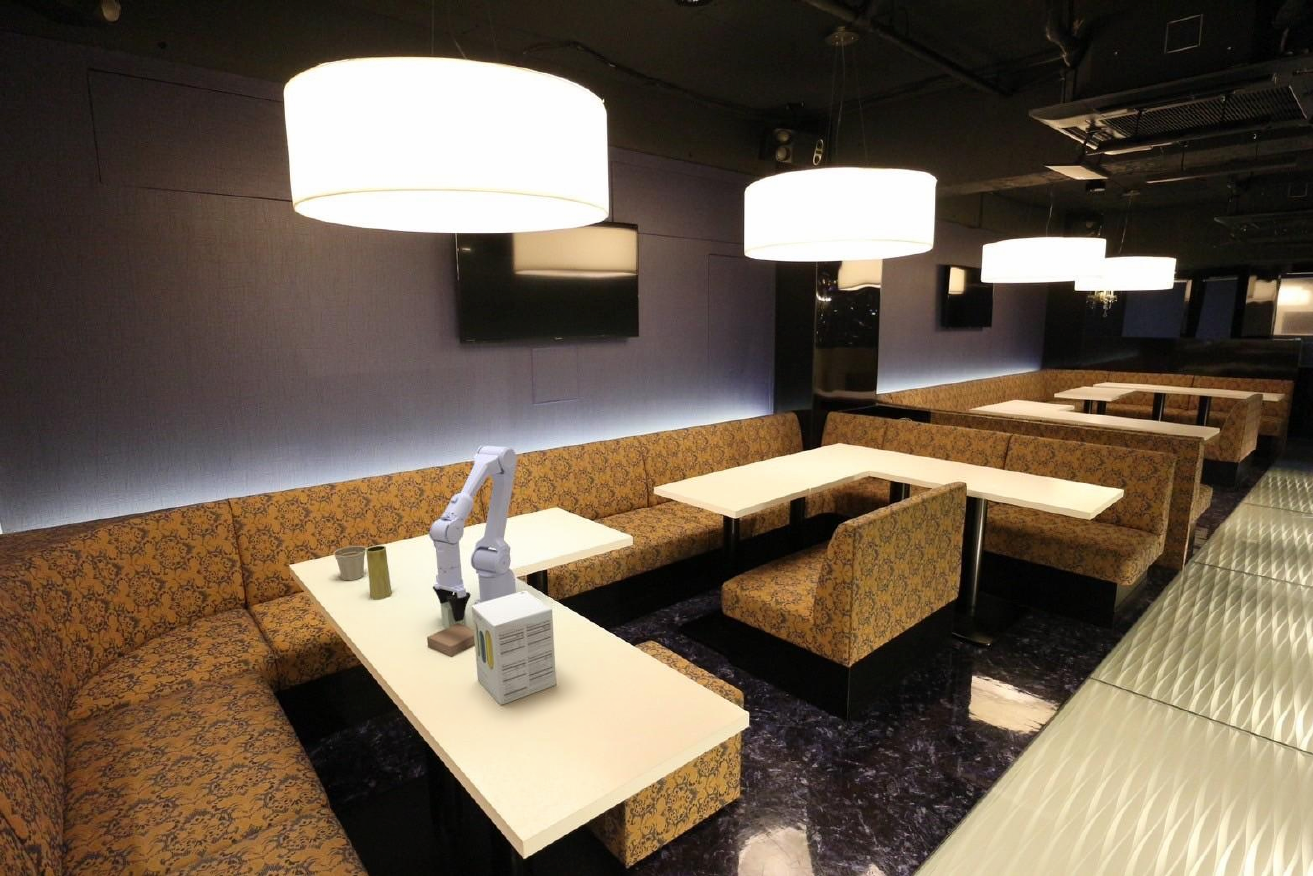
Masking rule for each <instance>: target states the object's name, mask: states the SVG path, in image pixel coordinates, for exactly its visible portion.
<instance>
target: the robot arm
mask: <svg viewBox="0 0 1313 876" xmlns="http://www.w3.org/2000/svg"><path fill="white" fill-rule="evenodd" d="M517 463H518V455H517V454H516V452H515V450H514V448H512V447H510V446H497V445H496V446H495V445H494V446H493V445H487V444H481V445H480V446H479V447H478V448H477V450H476V453H475V454H474V456H473V467H472V469H471V471H470V473H469V475H468V477H467V479H466V481H465V483H464V486H463V487H462V489H461V492H459V493H455V494H454V495H453V496H452V497H451V499H450V501H449V503H448V505H447V506H446V508H445V510H444V511H443V513H442V515H441V517H440V518H438V519H437V520H435V521H434V522H433V523H432V524H431V526H430V530H429V532H428V535H429V538H430V539H431V540H432V541H433V548H435V554H436V557H435V558H436V565H437V566H436V567H437V574H436V575H435V579H436V583H435V584H434V585H433V586H432V589H433V591H434V592H435V594H436V596H437V598H438V601H439V603H440V605H441V604H442V603H446V602H449V603H450V606H451V609H452V613H453V617H454V620H455V622H458V621H461V620H463V619H464V614H465V615H466V608H467V604H468V602H469V601H470V600H469V599H470V598H471V593H470V592H469V591H467V590H466V588H465V585H464V580H463V577H462V576H463V575H462V563H461V552H460V551H461V550H460V541H461V540H462V538H463V536H464V529H465V526H466V523H465V522H466V520H467V518H468V517H469V515H470V513H471V512H472V510H473V508H474V506H475V502H474V498H475V496H476V494H477V493H478V491H479V490H480V489H481V487H482V486H483V484H484V483H485V482H486V480H487V478H488V477H489V476H490V477H491V479H492V481H493V482H492V488H491V494H490V500H489V505H488V506H489V507H488V511H487V512H488V513H487V516H486V517H487V518H486V524H485V528H484V534H483V535H484V536H483V537H482V538H480V539H479V540H478V541H477V542H476V543H475V546H474V549H473V552H472V553H471V556H470V565H471V567H472V568H473V569H474V570H475V574H477V575H478V590H479V599H476V600H474V603H475V604H478V603H482V602H485V601H489V600H493V599H496V598H500V597H503V596H507V595H510V594H514V593H517V588H516V587H517V585H516V578H515V574H514V571H513V570H512V569H511V568H510V566H511V561H512V560H511V545H509V544H508V543H507V542H506V540H505V533H506V529H507V528H506V527H507V523H508V515H509V511H510V510H509V509H510V506H511V499H512V493H513V486H514V482H515V474H516V469H517Z"/></svg>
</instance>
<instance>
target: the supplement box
mask: <svg viewBox="0 0 1313 876" xmlns="http://www.w3.org/2000/svg"><path fill="white" fill-rule="evenodd" d="M470 607H471V613H472V614H471V615H472V626H473V628H472V629H474V640H475V645H474V651H475V661H476V675H477V681H479V682H480V684H481V685H482V686H483V687H484V689H486V690H487V692H488V693H489V694H490V695H491V696H492V697H493V698H494V700H495V701H496V702H497V703H498V705H500V706H501V705H505V704H508V703H511V702H513V701H515V700H520V699H521V698H524V697H527V696H530V695H532V694H535V693H537V692H541V691H543V690H545V689H549V688H551V687H554V686H556V685H557V675H556V674H557V672H556V660H555V659H556V657H555V655H556V654H555V638H554V621H553V618H554V617H553V608H551V607H550V606H548V605H547V604H546V603H545V602H543V601H542V600H540V599H539V598H538V597H536V596H535V595H533V594H532V593H531V592H529V591H528V590H523V591H518V592H516V593H514V594H510V595H507V596H503V597H500V598H496V599H493V600H489V601H485V602H482V603H478V604H476V603H475V604H472V605H471V606H470Z"/></svg>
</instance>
